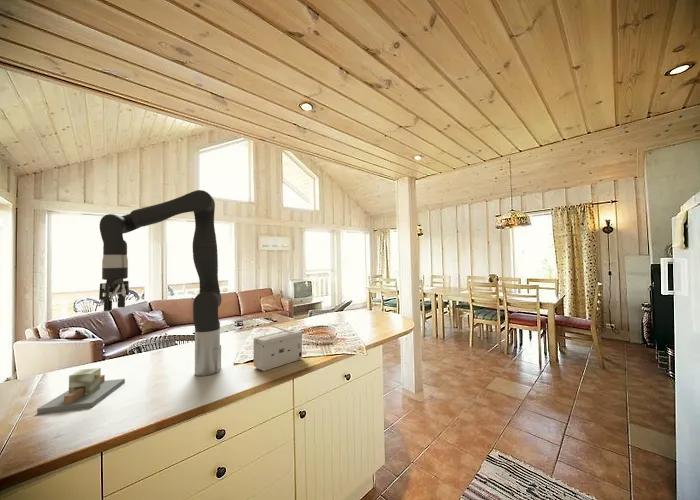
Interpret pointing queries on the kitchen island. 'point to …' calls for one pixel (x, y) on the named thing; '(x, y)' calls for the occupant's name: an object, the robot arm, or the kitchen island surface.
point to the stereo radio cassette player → (277, 348)
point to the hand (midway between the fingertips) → (114, 309)
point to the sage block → (85, 380)
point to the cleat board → (81, 397)
